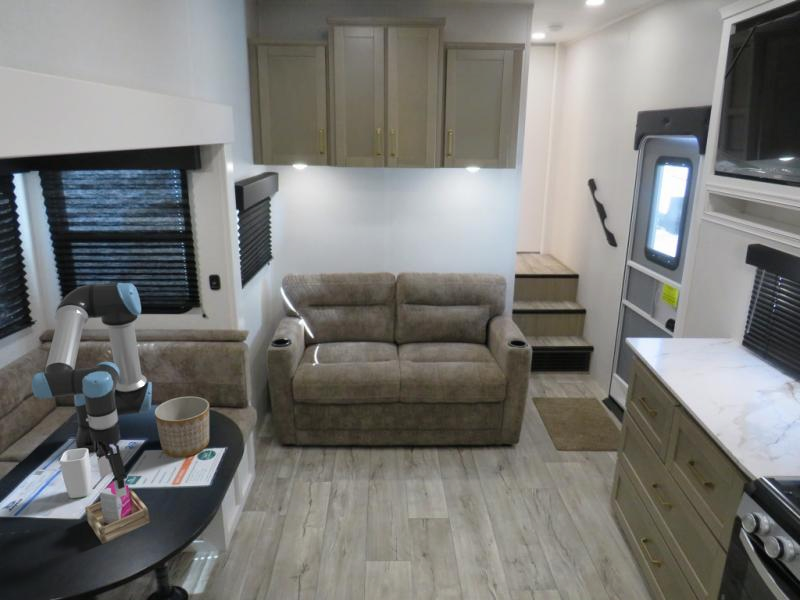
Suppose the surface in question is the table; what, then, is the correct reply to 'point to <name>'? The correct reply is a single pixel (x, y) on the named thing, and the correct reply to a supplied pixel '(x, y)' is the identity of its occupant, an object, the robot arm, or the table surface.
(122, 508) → the supplement box
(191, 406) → the planter
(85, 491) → the cup
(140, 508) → the crate
